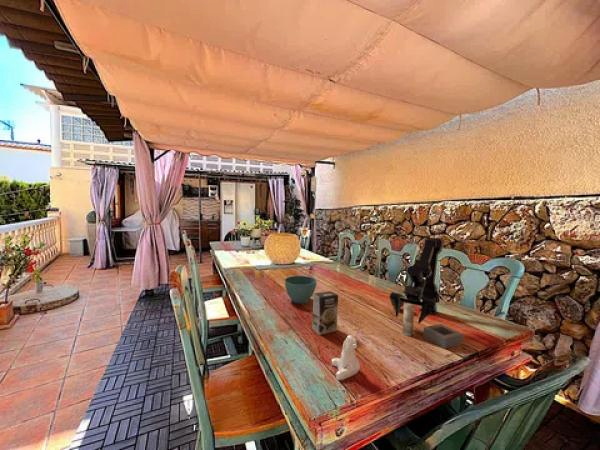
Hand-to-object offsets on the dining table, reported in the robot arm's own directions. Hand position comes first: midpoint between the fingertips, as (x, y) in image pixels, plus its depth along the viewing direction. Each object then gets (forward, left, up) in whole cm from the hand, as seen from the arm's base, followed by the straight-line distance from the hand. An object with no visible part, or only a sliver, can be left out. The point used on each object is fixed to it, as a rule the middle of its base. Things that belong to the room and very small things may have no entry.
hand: (407, 319), depth 110 cm
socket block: (-10, +9, -7) cm, 15 cm away
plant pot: (+27, -53, -7) cm, 60 cm away
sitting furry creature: (+38, +12, -7) cm, 40 cm away
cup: (-17, -24, -7) cm, 30 cm away
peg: (-1, -1, -7) cm, 7 cm away
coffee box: (+31, -16, -7) cm, 35 cm away
